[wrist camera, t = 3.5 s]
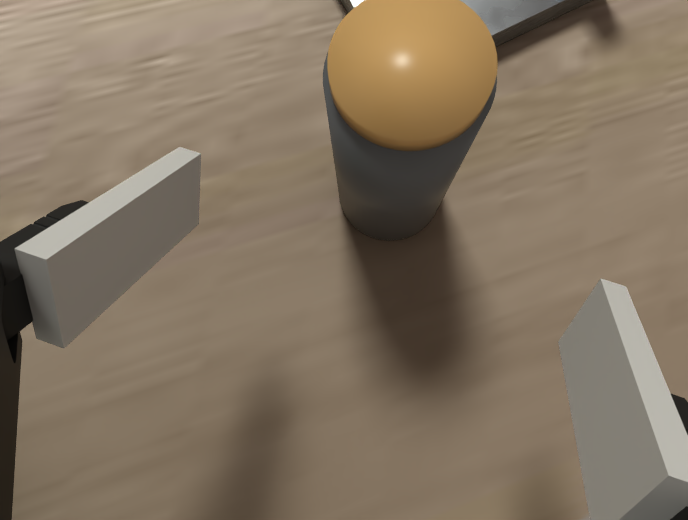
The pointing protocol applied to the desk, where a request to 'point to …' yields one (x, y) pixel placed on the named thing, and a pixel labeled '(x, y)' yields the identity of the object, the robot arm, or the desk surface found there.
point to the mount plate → (510, 14)
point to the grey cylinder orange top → (405, 107)
